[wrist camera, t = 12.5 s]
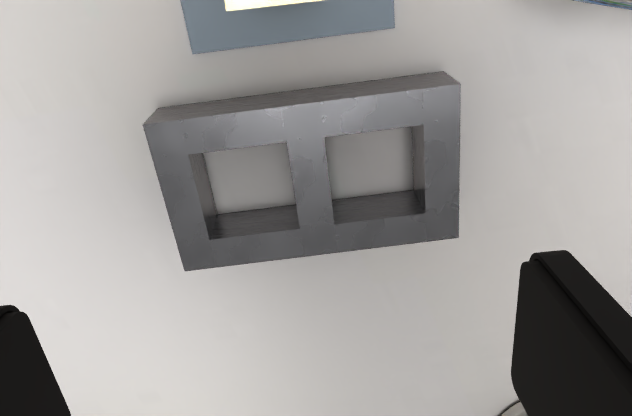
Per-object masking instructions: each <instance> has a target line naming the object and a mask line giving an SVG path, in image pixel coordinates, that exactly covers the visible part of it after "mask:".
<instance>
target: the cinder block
mask: <svg viewBox="0 0 632 416" xmlns="http://www.w3.org/2000/svg"><path fill="white" fill-rule="evenodd" d="M460 89H461V84H460V83H459V82H457V81H456V80H455V79H453V78H452V77H451V76H449V75H448V74H447V73H445V72H444V71H443V72H435V73H427V74H419V75H411V76H404V77H396V78H388V79H380V80H373V81H365V82H357V83H349V84H341V85H334V86H326V87H318V88H310V89H303V90H295V91H287V92H279V93H272V94H264V95H256V96H248V97H240V98H233V99H225V100H217V101H209V102H202V103H194V104H186V105H178V106H170V107H163V108H158V109H157V110H156V111H155V112H154V113H153V114H152V115H151V116H150V117H149V118H148V119H147V120H146V122H145V123H144V124H143V127H144V131H145V134H146V138H147V141H148V145H149V148H150V152H151V155H152V159H153V162H154V166H155V169H156V173H157V176H158V180H159V183H160V187H161V190H162V194H163V197H164V201H165V204H166V208H167V211H168V215H169V218H170V222H171V225H172V229H173V232H174V236H175V239H176V243H177V246H178V250H179V253H180V257H181V260H182V264H183V267H184V270H185V271H191V270H199V269H207V268H216V267H224V266H232V265H240V264H248V263H256V262H265V261H273V260H281V259H289V258H297V257H305V256H314V255H322V254H330V253H338V252H346V251H354V250H363V249H371V248H379V247H387V246H395V245H403V244H412V243H420V242H428V241H436V240H444V239H452V238H459V165H460ZM410 126H412V153H413V183H414V190H411V191H403V192H395V193H387V194H379V195H371V196H363V197H355V198H347V199H339V200H331V191H330V182H329V174H328V165H327V157H326V148H325V139H324V137H331V136H339V135H347V134H355V133H363V132H371V131H379V130H387V129H395V128H402V127H410ZM284 142H287V148H288V154H289V161H290V167H291V174H292V180H293V187H294V193H295V200H296V205H291V206H283V207H275V208H267V209H259V210H251V211H243V212H235V213H226V214H218V215H217V212H216V207H215V203H214V199H213V195H212V191H211V186H210V182H209V178H208V174H207V169H206V165H205V161H204V157H203V153H205V152H213V151H221V150H229V149H237V148H245V147H253V146H260V145H268V144H276V143H284Z"/></svg>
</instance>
